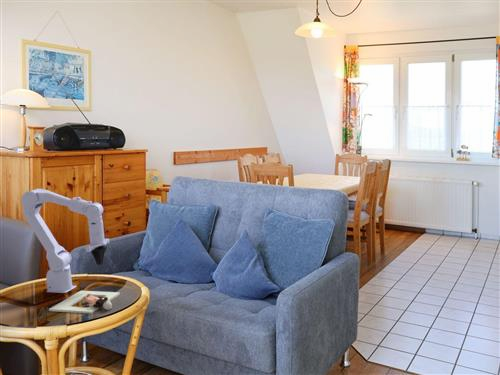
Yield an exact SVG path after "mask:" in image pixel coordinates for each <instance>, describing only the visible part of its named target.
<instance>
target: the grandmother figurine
mask: <svg viewBox="0 0 500 375" xmlns="http://www.w3.org/2000/svg"><path fill="white" fill-rule="evenodd" d="M103 298H104V299H102V298H101V297H96V296H92V295H91V294H90V293H89V294H88V295H87V297H86V296H84V297H83V299H82V300H81V303H82V304H86V303H88V307H98V308H99V309H100V308H103V309H104V310H106V311H110V310H111V309H112V308H113V304H112V302H111V301H109V300H108V297H106V296H104V297H103Z"/></svg>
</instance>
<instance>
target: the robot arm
mask: <svg viewBox="0 0 500 375" xmlns="http://www.w3.org/2000/svg"><path fill="white" fill-rule="evenodd" d="M48 202H50V203H53V204H57V205H61V206H65V207H68V209H69V211H71V212H74V213H77V214H80V215H84V216H86V218H87V223H88V232H89V233H88V234H89V242H90V243H89V244H88V245H87V246H85V247H84V248H85V253H91V254H92V257H93V258H94V261H95V263H96V265H99V266H100V265H103V264H104V259H105V254H106V250H107V249H108V248H107V244H110V242H111V241H110V238H105V229H104V220H103V213H104V206H103V205H102V204H101V203H99V202H98V201H96V202H92V200H89V201H87V200H85V199H82V197H80V196H77V197H76V196H75V197H72V198H69V197H66V196H65V195H61V194H58V193H55V192H53V191H51V190H48V189H43V188H41V187H37V188H35V189H33V190H28V191H25V192H24V193H23V194H22V197H21V200H20V203H21V204H22V212H23V216H24V218H25V219H26V222H27V223H28V225H29V226H30V228H31V229H32V231H33V232H34V234H35V236H36V237H37V239H38V241H39V242H40V244H41V245H42V247H43V248H44V250H45V252H46V255H45V256H46V260H47V264H48V267H49V270H48V271H47V272H46V278H45V279H46V286H47V290H46V293H55V294H56V293H57V294H58V293H59V294H66V293H68V292H70V291H72V290H74V289H75V288H77V285H73V280H72V273H71V272H72V271H71V265H70V264H71V263H72V260H73V258H72V254H71V253H70V252H68V251H67V250H66V249H65V247H63V246H61V245H60V244H59V243H58V241H57V240H56V237H54V234H52V232H51V230H50V229H49V227H48V225H47V223H46V222H45V221H44V219H43V217H42V216H41V215H40V211H41V208H42V206H43V205H44V203H48Z"/></svg>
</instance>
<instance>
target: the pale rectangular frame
mask: <svg viewBox="0 0 500 375" xmlns="http://www.w3.org/2000/svg"><path fill="white" fill-rule="evenodd" d="M89 293H90V294H91V295H92V296H95V297H98V298H101V299H104V296H106V297H108V300H109V301H110V302H111V301H112V300H113V299H115V298H117V297H118V296H121V295H120V293H121V292H115V291H98V290H79V291H78V292H76V293H74V294H73V295H71V296H69V297H67V298H65V299H63V301H61V302H59V303H57V304H54V305H53V306H52V307H50V308H48V312H58V313H59V312H60V313H72V314H73V313H74V314H89V315H91V314H93V313H95V312H96V311H98V310H99V309H100V308H98V307H90V306H87V307H86V306H85V307H84V306H74V305H76V304H77V303H79V302H80V301H81V302H82V300H83V297H84V296H86V297H87V295H88V294H89Z"/></svg>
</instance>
